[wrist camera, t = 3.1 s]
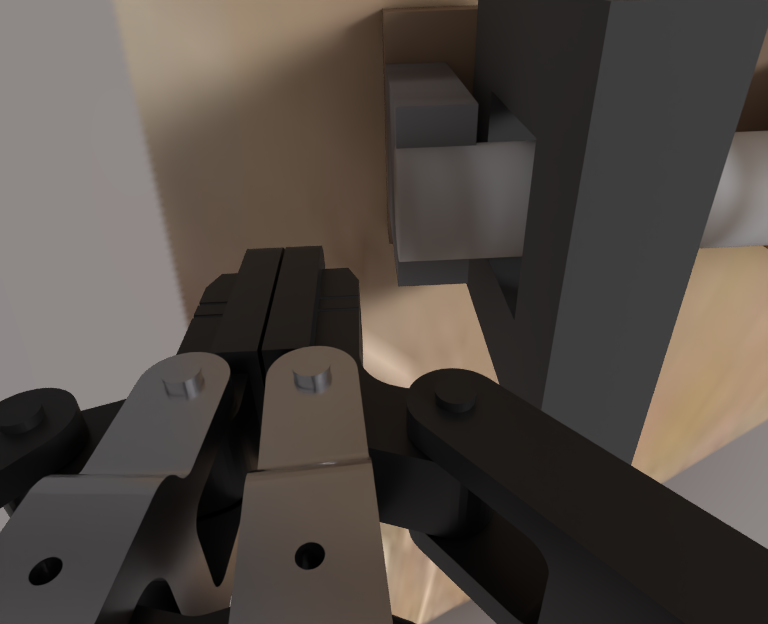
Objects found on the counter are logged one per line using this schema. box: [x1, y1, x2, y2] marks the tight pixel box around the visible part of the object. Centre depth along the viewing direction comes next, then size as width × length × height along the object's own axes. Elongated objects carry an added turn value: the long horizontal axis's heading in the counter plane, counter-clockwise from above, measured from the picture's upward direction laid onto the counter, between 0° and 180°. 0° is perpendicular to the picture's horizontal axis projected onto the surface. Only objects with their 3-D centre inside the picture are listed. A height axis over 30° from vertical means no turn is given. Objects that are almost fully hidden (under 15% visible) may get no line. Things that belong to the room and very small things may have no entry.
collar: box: [466, 0, 768, 465], centre depth 15 cm, size 10×2×10 cm, turn 2°
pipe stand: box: [382, 5, 768, 286], centre depth 17 cm, size 8×16×9 cm, turn 92°
